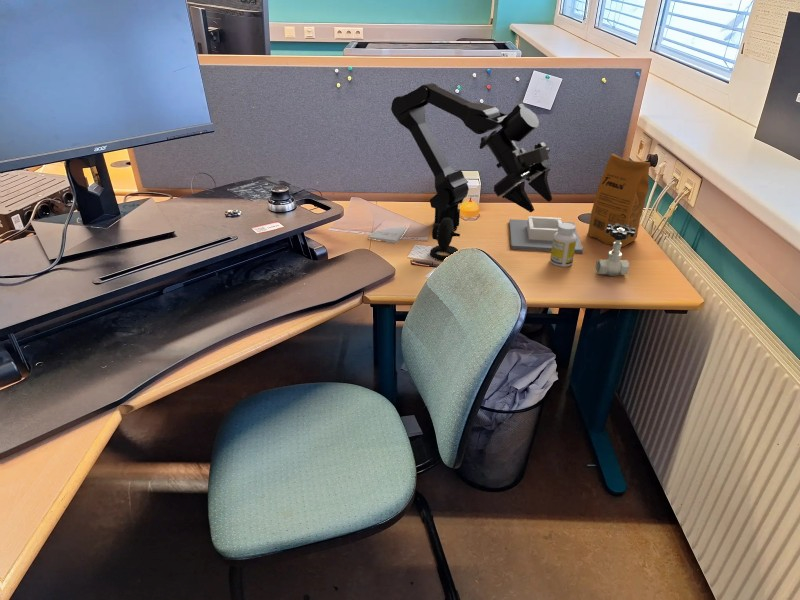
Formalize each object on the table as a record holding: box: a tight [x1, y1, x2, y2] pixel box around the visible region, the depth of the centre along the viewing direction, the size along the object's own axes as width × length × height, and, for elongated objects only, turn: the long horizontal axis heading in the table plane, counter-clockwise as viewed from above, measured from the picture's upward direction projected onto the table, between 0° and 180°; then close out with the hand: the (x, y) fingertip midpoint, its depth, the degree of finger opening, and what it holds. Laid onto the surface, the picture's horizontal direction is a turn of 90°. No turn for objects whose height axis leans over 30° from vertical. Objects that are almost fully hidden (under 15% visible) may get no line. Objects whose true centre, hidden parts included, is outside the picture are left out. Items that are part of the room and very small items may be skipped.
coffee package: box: [587, 153, 652, 248], centre depth 143 cm, size 10×12×22 cm
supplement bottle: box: [550, 223, 577, 268], centre depth 133 cm, size 5×5×10 cm
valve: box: [595, 223, 636, 277], centre depth 127 cm, size 7×7×12 cm
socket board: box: [509, 215, 584, 254], centre depth 148 cm, size 18×18×4 cm
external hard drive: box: [368, 226, 407, 244], centre depth 152 cm, size 2×8×12 cm
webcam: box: [429, 218, 461, 262], centre depth 137 cm, size 8×8×10 cm
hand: (541, 206), depth 133 cm, fingers open, 9 cm apart
